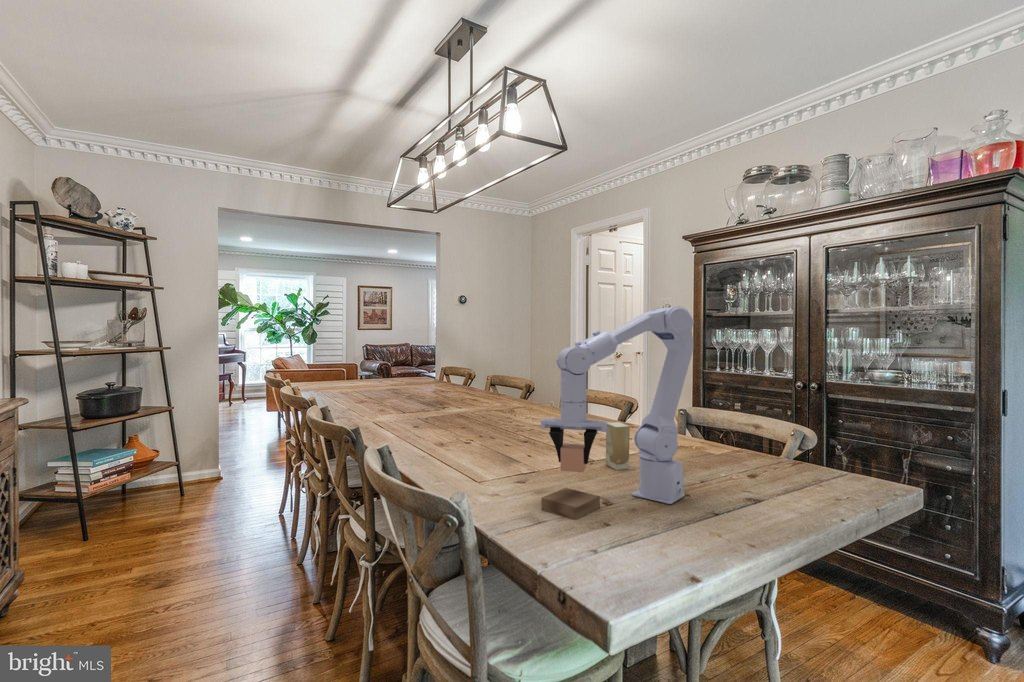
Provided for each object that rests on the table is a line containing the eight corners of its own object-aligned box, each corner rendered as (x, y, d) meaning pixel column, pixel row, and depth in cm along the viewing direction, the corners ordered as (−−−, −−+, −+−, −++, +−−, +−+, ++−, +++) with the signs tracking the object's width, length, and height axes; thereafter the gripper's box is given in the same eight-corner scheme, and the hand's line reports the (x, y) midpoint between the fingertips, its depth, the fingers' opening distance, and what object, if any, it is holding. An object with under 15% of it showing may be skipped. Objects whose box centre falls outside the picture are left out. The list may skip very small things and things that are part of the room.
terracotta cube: (586, 466, 111) (586, 444, 111) (583, 472, 107) (583, 449, 107) (564, 464, 113) (564, 443, 113) (560, 470, 108) (560, 448, 108)
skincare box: (605, 464, 142) (605, 422, 141) (618, 463, 143) (618, 421, 143) (616, 470, 135) (616, 426, 135) (630, 469, 137) (630, 425, 137)
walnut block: (599, 509, 107) (599, 496, 107) (576, 522, 100) (576, 507, 100) (565, 500, 113) (565, 487, 113) (541, 511, 106) (541, 497, 106)
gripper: (608, 400, 111) (608, 459, 111) (545, 397, 115) (545, 455, 115) (605, 404, 104) (605, 467, 105) (538, 401, 108) (538, 463, 109)
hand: (573, 462), depth 110 cm, fingers closed on terracotta cube, 5 cm apart
